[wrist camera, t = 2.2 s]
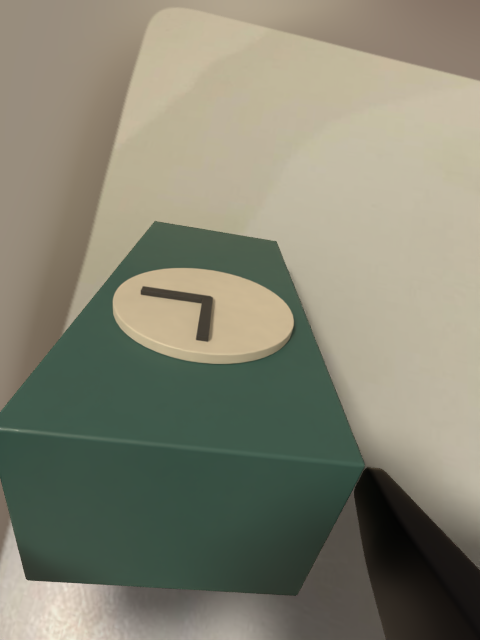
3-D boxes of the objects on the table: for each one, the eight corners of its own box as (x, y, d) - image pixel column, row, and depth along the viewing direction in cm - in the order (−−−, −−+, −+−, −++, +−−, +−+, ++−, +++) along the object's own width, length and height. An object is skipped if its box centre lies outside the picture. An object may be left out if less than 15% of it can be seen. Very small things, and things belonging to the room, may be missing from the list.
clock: (241, 500, 18) (366, 711, 5) (115, 489, 17) (-97, 702, 5) (263, 268, 22) (367, 60, 9) (159, 251, 21) (113, 2, 8)
